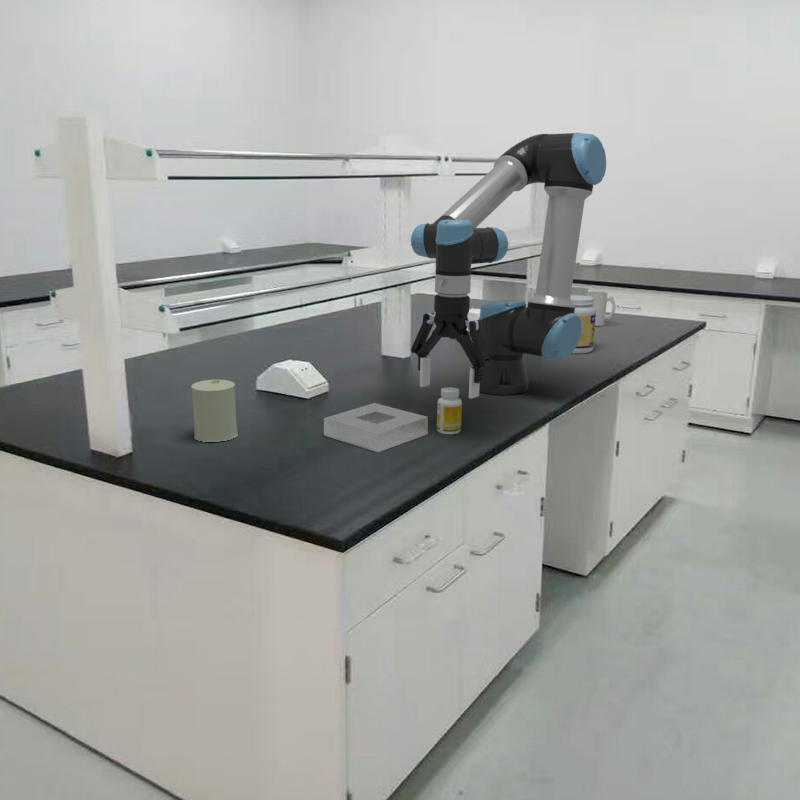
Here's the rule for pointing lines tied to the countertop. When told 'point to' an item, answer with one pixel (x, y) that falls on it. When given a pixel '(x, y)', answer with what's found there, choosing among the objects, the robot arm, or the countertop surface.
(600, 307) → the mug
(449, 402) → the supplement bottle
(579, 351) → the supplement tub
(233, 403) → the can
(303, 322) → the countertop surface
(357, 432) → the block with square hole
